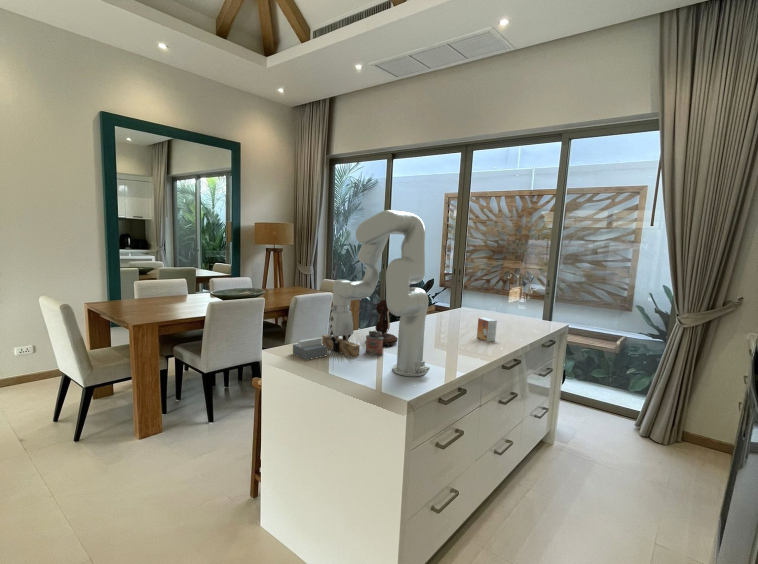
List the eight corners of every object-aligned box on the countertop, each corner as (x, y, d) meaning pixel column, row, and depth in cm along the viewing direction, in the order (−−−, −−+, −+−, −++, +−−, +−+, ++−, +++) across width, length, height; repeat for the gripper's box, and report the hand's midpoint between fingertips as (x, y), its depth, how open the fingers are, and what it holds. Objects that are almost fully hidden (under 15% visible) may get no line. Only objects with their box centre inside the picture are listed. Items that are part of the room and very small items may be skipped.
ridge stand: (326, 355, 162) (327, 340, 161) (306, 360, 155) (306, 344, 154) (313, 350, 169) (313, 335, 169) (292, 354, 162) (293, 338, 162)
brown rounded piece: (395, 348, 178) (397, 304, 175) (363, 345, 180) (365, 302, 178) (398, 340, 192) (401, 299, 190) (369, 337, 194) (370, 297, 192)
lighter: (363, 353, 168) (364, 330, 167) (367, 351, 171) (368, 328, 170) (380, 356, 164) (381, 333, 163) (384, 354, 167) (385, 331, 166)
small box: (476, 337, 205) (477, 317, 203) (485, 336, 207) (486, 317, 206) (486, 341, 197) (488, 320, 196) (495, 340, 200) (497, 320, 199)
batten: (359, 356, 164) (359, 345, 163) (353, 358, 161) (354, 346, 161) (327, 345, 179) (327, 334, 179) (322, 346, 177) (322, 335, 177)
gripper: (330, 311, 160) (329, 355, 162) (361, 308, 171) (360, 349, 173) (320, 309, 165) (319, 351, 167) (350, 305, 177) (349, 345, 179)
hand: (339, 350), depth 170 cm, fingers open, 3 cm apart
